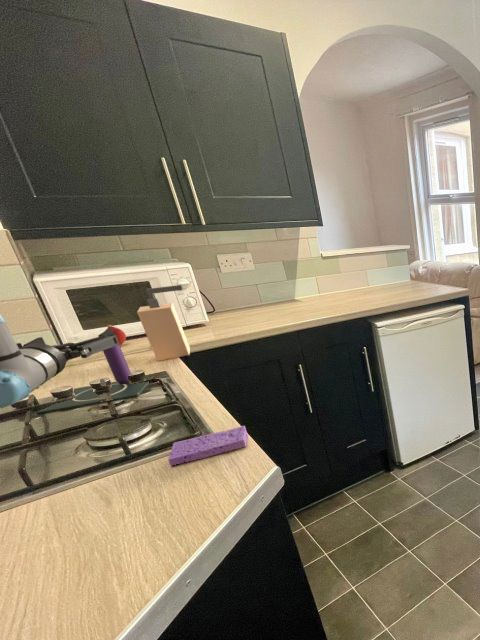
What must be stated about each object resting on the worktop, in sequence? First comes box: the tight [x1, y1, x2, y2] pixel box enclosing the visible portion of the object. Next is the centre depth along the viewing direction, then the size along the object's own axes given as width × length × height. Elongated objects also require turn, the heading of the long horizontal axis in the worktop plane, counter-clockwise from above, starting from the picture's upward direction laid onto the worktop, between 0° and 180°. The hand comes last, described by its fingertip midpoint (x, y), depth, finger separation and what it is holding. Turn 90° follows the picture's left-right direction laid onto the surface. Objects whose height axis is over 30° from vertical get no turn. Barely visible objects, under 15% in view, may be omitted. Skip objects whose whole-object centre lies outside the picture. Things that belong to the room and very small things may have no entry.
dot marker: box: [102, 345, 132, 384], centre depth 115 cm, size 4×4×12 cm
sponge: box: [167, 425, 248, 466], centre depth 83 cm, size 7×13×2 cm, turn 118°
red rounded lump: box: [104, 324, 127, 346], centre depth 151 cm, size 6×6×8 cm
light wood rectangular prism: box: [136, 284, 191, 362], centre depth 137 cm, size 13×9×22 cm
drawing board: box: [36, 375, 155, 415], centre depth 112 cm, size 20×15×1 cm
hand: (78, 338), depth 105 cm, fingers open, 13 cm apart
